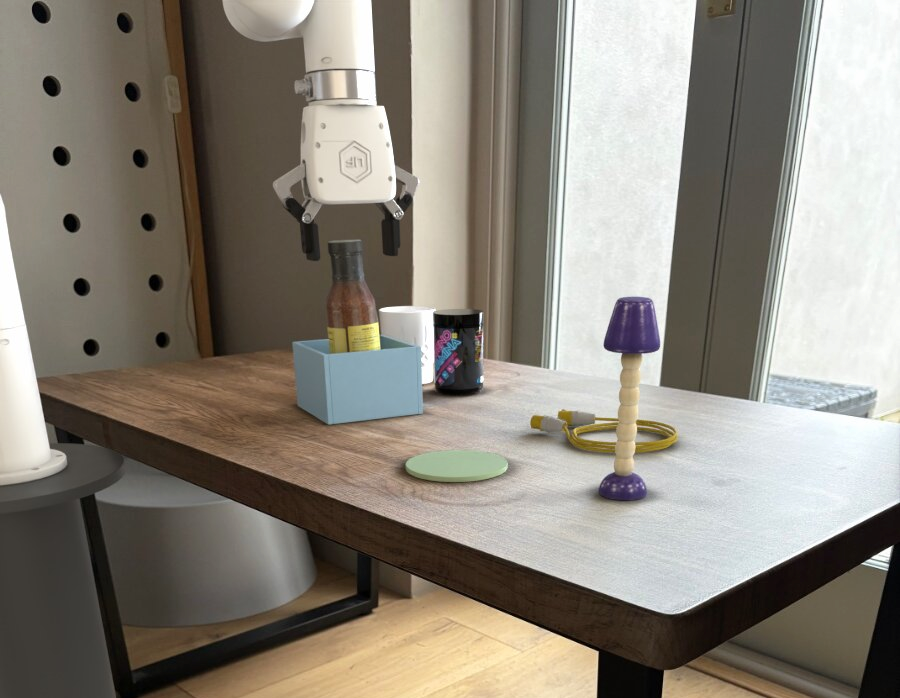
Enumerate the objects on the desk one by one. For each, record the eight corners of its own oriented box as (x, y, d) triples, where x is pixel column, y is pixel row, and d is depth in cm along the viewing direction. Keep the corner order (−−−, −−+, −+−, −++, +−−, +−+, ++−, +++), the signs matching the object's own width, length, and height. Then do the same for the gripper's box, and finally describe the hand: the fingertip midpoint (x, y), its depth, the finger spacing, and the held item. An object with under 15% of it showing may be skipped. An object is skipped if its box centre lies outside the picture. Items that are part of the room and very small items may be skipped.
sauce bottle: (390, 405, 118) (383, 238, 110) (377, 415, 113) (368, 241, 105) (341, 403, 120) (330, 238, 112) (325, 414, 114) (313, 241, 106)
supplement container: (434, 387, 129) (432, 309, 125) (483, 386, 129) (483, 308, 125) (433, 396, 123) (431, 315, 119) (484, 396, 123) (484, 314, 119)
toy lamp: (659, 498, 81) (675, 299, 74) (612, 505, 79) (624, 302, 73) (631, 484, 85) (643, 293, 78) (585, 490, 84) (594, 296, 77)
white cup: (429, 375, 137) (427, 304, 133) (443, 384, 130) (441, 310, 126) (376, 378, 136) (373, 307, 131) (388, 388, 129) (385, 313, 125)
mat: (431, 487, 85) (431, 482, 85) (390, 462, 93) (389, 457, 93) (526, 473, 89) (526, 468, 89) (478, 450, 97) (478, 445, 97)
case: (328, 424, 109) (323, 355, 106) (297, 405, 119) (292, 341, 116) (423, 413, 114) (421, 346, 110) (385, 396, 124) (382, 334, 121)
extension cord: (608, 416, 110) (609, 400, 110) (701, 444, 98) (703, 425, 97) (522, 429, 105) (522, 412, 104) (609, 461, 92) (610, 441, 92)
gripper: (275, 88, 96) (291, 264, 103) (427, 90, 102) (432, 255, 109) (256, 95, 102) (272, 260, 109) (400, 97, 109) (407, 252, 116)
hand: (352, 257), depth 109 cm, fingers open, 9 cm apart
